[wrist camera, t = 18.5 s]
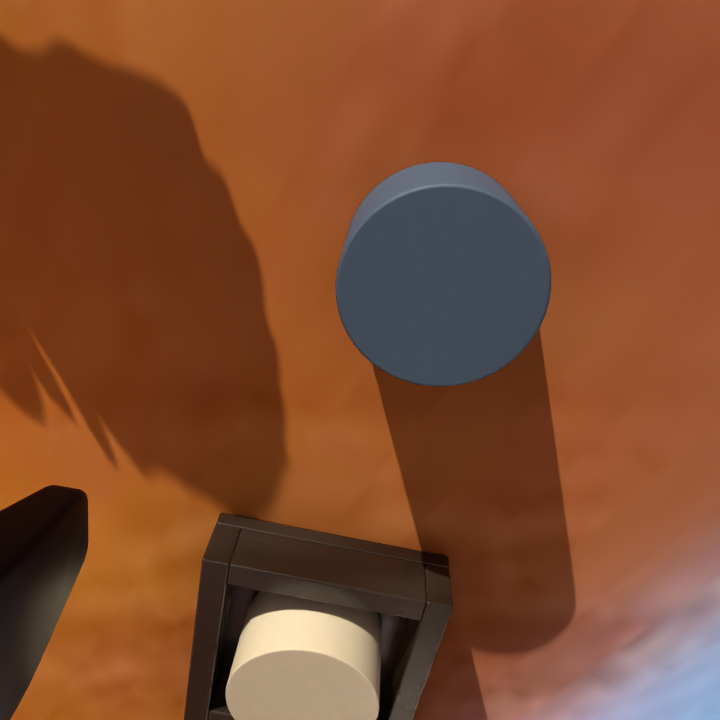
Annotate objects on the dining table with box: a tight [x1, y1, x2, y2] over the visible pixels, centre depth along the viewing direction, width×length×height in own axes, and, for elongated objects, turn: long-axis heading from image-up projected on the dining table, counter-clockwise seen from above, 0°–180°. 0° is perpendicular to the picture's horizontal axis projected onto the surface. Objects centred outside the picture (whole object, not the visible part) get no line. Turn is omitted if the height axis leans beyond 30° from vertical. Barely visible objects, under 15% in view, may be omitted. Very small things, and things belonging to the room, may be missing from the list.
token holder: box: [184, 513, 453, 720], centre depth 25 cm, size 8×16×2 cm, turn 169°
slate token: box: [336, 162, 551, 387], centre depth 17 cm, size 5×5×3 cm
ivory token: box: [225, 591, 382, 720], centre depth 23 cm, size 5×5×3 cm
